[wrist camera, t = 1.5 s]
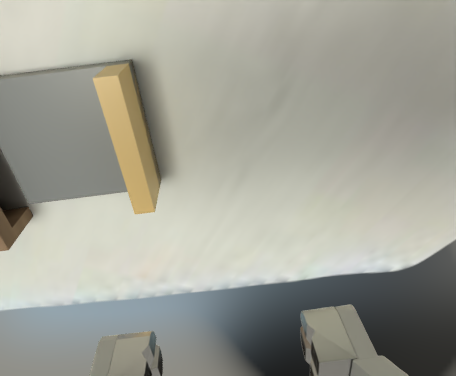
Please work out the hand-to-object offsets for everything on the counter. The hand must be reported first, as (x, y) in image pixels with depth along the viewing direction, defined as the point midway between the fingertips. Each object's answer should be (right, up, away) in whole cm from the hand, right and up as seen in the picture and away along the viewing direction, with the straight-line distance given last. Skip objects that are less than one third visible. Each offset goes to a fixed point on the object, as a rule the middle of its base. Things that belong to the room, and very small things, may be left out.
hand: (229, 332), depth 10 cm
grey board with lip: (-12, +9, +16) cm, 22 cm away
